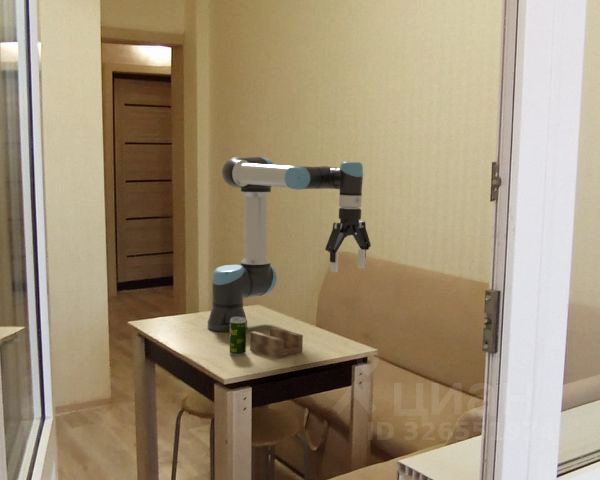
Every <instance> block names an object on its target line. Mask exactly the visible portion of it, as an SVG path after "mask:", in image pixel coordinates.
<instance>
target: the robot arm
mask: <svg viewBox="0 0 600 480" xmlns="http://www.w3.org/2000/svg"><path fill="white" fill-rule="evenodd" d="M363 170H364V169H363V163H361V162H359V161H358V162H357V161H342V162H341V163H340V166H339V167H337V166H327V165H322V166H306V165H305V166H303V165H302V166H301V165H300V166H299V165H284V164H283V165H282V164H275V163H273V161H272V160H271V159H269V158H266V157H262V156H261V157H260V156H253V157H251V156H234V157H231V158H230V159H227V160H226V162H225V163H224V164H223V166H222V169H221V174H222V178H223V180H224V182H225V183H226V184H227V185H228V186H230V187H233V188H240V193H241V194H242V195H243V196H244V258H243V259H242V260H241V261H240V264H226V265H221V266H219V267H216V268H215V269H214V270H213V272H212V280H211V282H212V300H211V301H212V307H211V310H210V314H209V317H208V320H207V329H209V330H210V331H214V332H221V333H222V332H223V333H230V320H231V318H232V317H244V318H245V320H246V329H247V328H248V319H247V317H246V316H247V315H246V312H245V309H244V299H246V298H247V299H248V298H251V297H257V296H258V297H261V296H263V295H268V294H270V293H271V292H272V291H273V290H274V288H275V287H276V285H277V277H278V276H277V272H276V271H275V268H274V267H273V266H271V261H270V260H269V259H268V257H267V252H268V251H267V247H268V246H267V245H268V243H267V240H268V237H267V236H268V232H267V230H268V226H267V225H268V220H267V219H268V215H267V214H268V196H269V195H270V194H271V192H272V187H276V188H277V187H278V188H288V189H292V190H299V191H300V190H308V189H309V190H318V189H319V190H320V189H321V190H322V189H325V190H326V189H329V190H331V189H332V190H339V199H338V206H339V207H340V208H339V209H338V219H339V220H340V222H333V224H332V230H331V232H330V235H329V238H328V240H327V243H326V246H325V251H327V252H328V253H329V262H330V267H329V268H330V272H332V273H338V272H339V252H338V250H339V249H340V247H341V245H342V244H343V241H344V240H345V238H347V237H349V236H352V237H353V238H354V240H355V242H356V244H357V245H358V247H359V248H358V249H357V268H358V269H365V268H366V267H365V265H366V257H367V250H368V251H369V249H370V248H371V246H372V244H371V241H370V238H369V234H368V231H367V228H366V227H367V226H366V225H367V224H366V221H365V220H364V221H363V220H361V219H362V209H361V208H362V197H363V196H362V195H363V194H362V189H363V177H364V171H363Z"/></svg>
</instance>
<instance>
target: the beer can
mask: <svg viewBox="0 0 600 480" xmlns="http://www.w3.org/2000/svg"><path fill="white" fill-rule="evenodd" d="M246 320H247V319H246ZM246 320H245V318H244V317H232V318H231V320H230V332H229V354H230V355H231V356H233V357H239V356H241V355H242V356H244V355H245V354H246V351H247V350H246V349H247V348H246V347H247V346H246V345H247V328H246ZM242 356H241V357H242Z"/></svg>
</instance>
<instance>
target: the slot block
mask: <svg viewBox="0 0 600 480" xmlns="http://www.w3.org/2000/svg"><path fill="white" fill-rule="evenodd" d="M249 335H250V338H249V340H250V342H249V343H250V344H249V345H250V349H249V350H251V351H253V352H257V353H260V354H263V355H267V356H270V357H272V358H276V359H278V360H279V359H283V358H286V357H289V356H290V357H291V356H294V355H298V354H300V353H303V342H304V341H303V337H304V335H303V334H302V333H301V334H300V333H297V332H294V331H290V330H286V329H282V328H279V327H275V326H273V327H269V334H265V333H262V332H258V331H250V334H249Z"/></svg>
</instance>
